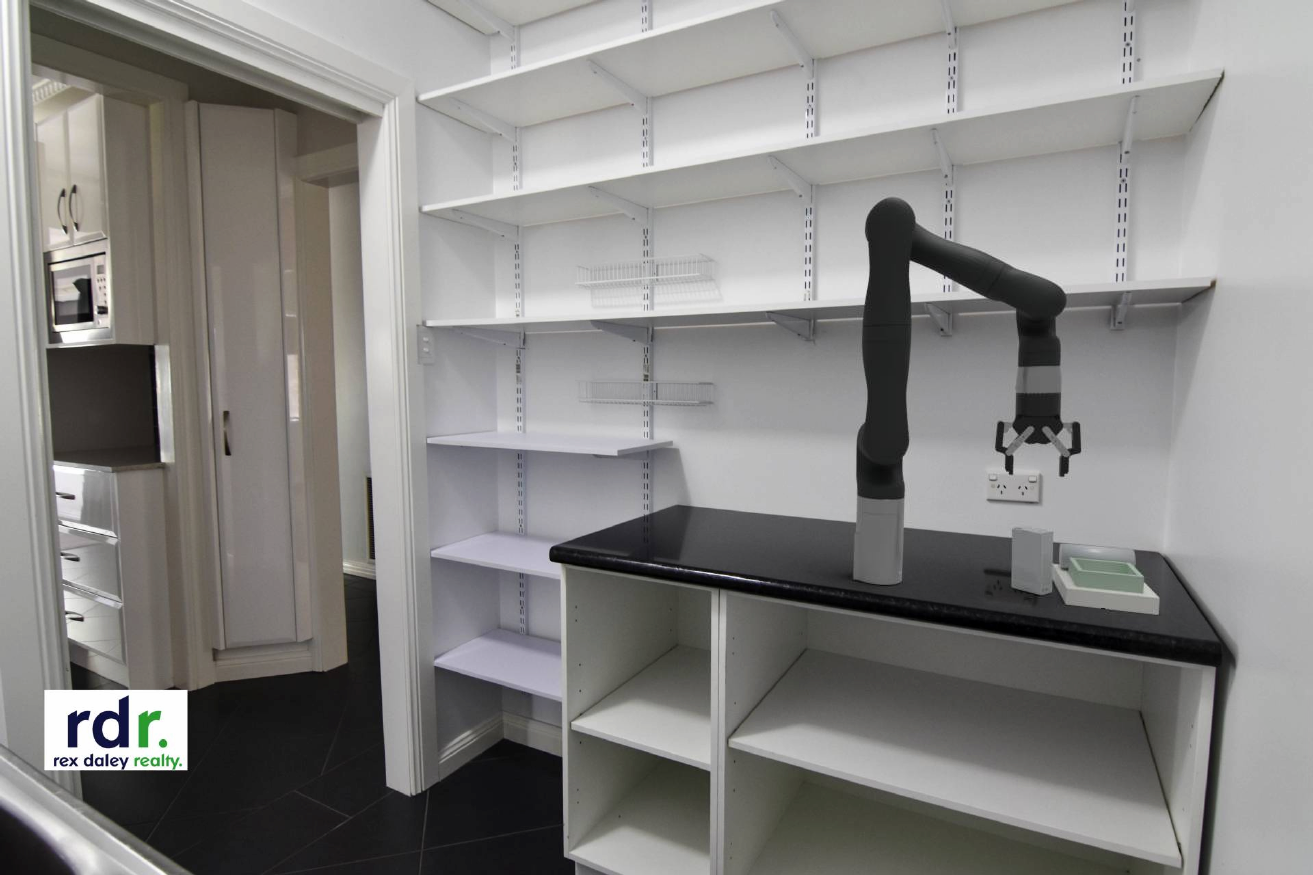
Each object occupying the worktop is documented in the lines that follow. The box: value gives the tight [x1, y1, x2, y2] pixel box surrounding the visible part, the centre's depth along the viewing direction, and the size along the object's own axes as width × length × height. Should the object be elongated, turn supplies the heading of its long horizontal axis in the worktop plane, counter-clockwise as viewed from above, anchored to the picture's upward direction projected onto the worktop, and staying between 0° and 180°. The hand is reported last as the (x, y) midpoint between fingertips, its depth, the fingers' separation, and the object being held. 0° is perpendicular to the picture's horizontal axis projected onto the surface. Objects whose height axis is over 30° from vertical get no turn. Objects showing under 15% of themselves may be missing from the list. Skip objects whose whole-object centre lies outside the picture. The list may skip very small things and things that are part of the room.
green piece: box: [1068, 557, 1145, 593], centre depth 127 cm, size 10×10×3 cm
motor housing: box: [1052, 543, 1161, 616], centre depth 129 cm, size 14×18×8 cm
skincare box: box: [1010, 525, 1054, 596], centre depth 132 cm, size 6×4×12 cm
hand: (1036, 475), depth 130 cm, fingers open, 8 cm apart
